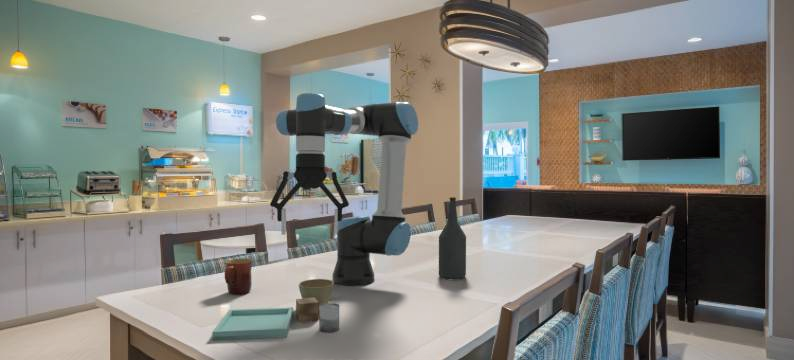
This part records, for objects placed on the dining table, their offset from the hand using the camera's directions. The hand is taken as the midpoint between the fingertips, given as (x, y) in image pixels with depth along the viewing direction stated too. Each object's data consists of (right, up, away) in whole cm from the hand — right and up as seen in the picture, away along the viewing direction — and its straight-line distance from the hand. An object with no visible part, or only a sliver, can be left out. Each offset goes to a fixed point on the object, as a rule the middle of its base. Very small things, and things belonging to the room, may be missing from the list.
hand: (310, 233), depth 119 cm
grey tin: (+6, -23, -6) cm, 25 cm away
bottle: (+44, -22, +51) cm, 71 cm away
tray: (-13, -23, -4) cm, 27 cm away
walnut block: (-1, -23, +2) cm, 23 cm away
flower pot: (-1, -23, +12) cm, 26 cm away
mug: (-29, -23, +27) cm, 45 cm away
